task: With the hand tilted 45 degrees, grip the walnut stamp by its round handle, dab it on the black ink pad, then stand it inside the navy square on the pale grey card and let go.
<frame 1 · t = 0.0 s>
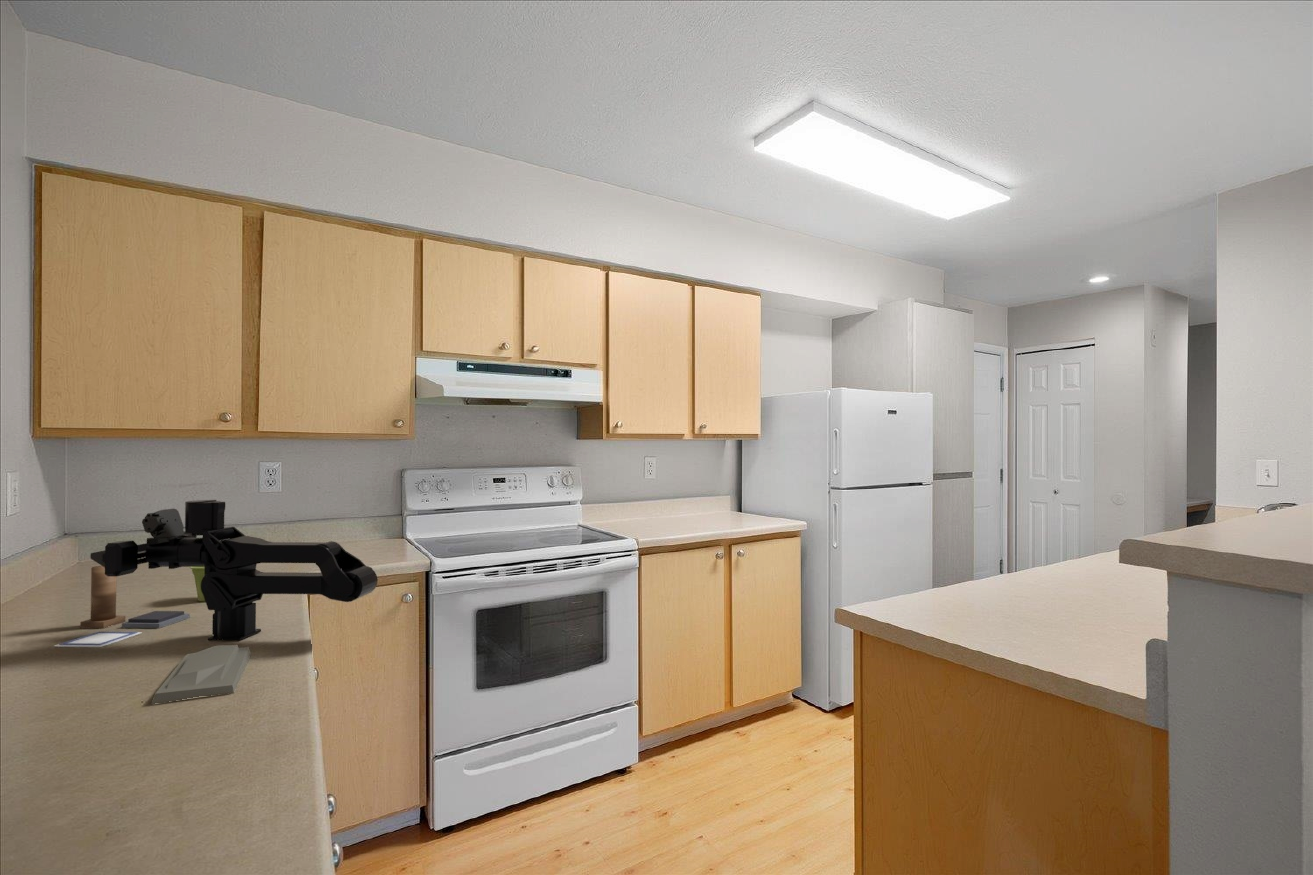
hand: (113, 551, 124), 17 cm above the countertop, tool horizontal, fingers open, 9 cm apart
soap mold: (207, 681, 100), on the countertop
print card: (99, 639, 120), on the countertop
plant pot: (213, 599, 153), on the countertop
ink pad: (156, 622, 132), on the countertop
stamp: (103, 624, 131), on the countertop
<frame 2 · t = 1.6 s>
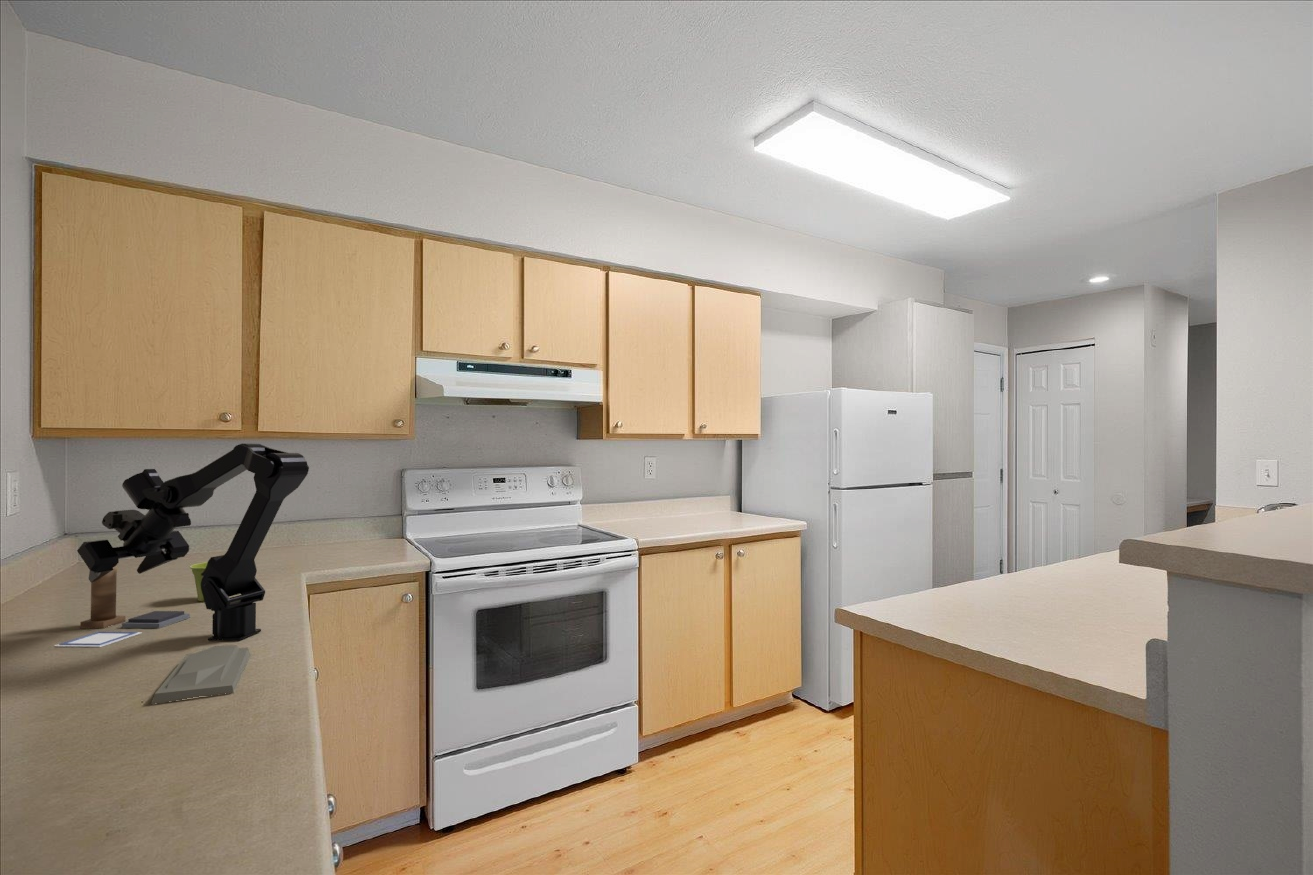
hand: (115, 576, 130), 10 cm above the countertop, tool tilted 45°, fingers open, 9 cm apart
nothing on the countertop moved.
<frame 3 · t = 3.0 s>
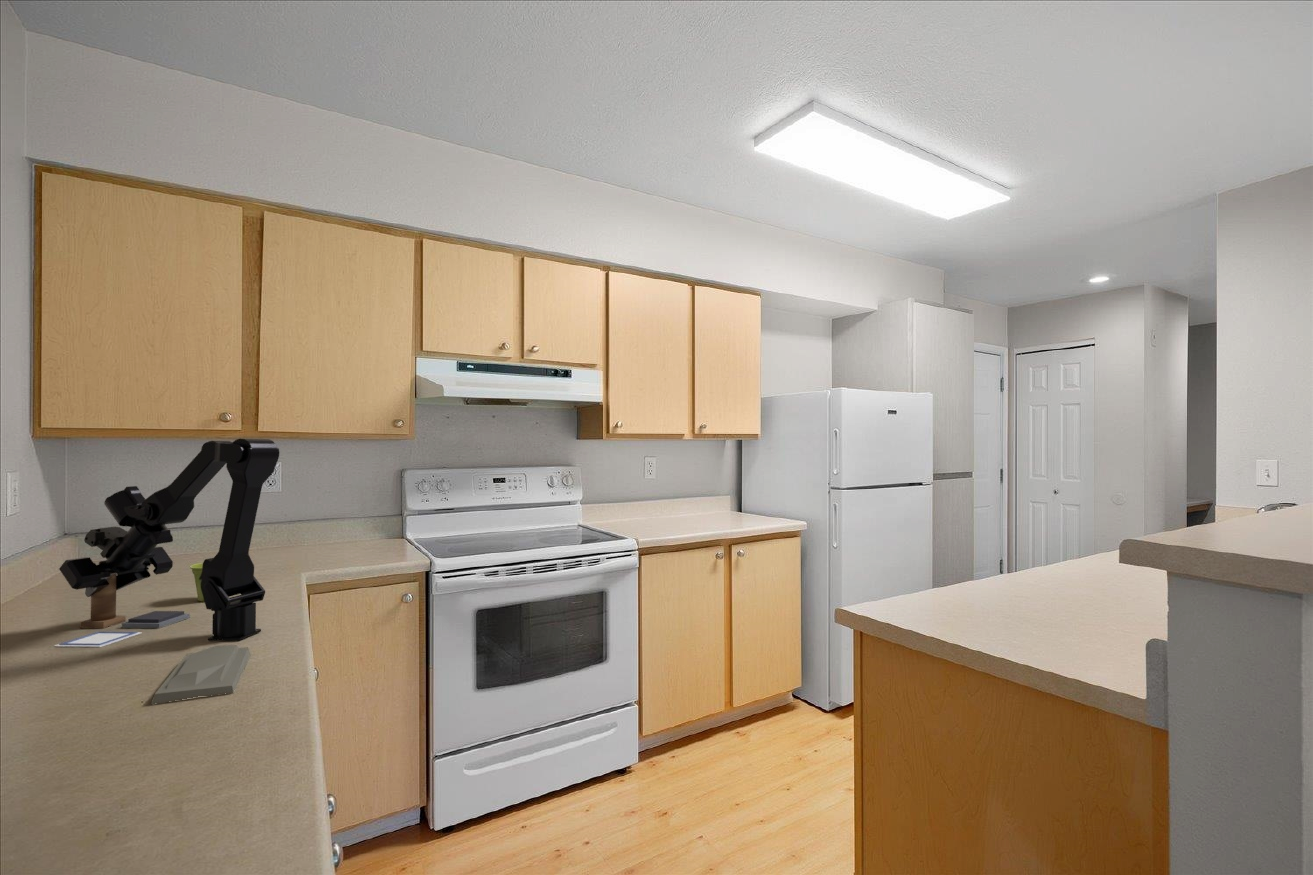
hand: (98, 592, 131), 7 cm above the countertop, tool tilted 45°, fingers closed on stamp, 4 cm apart
stamp: (103, 624, 131), on the countertop, touching gripper
everything else where it was.
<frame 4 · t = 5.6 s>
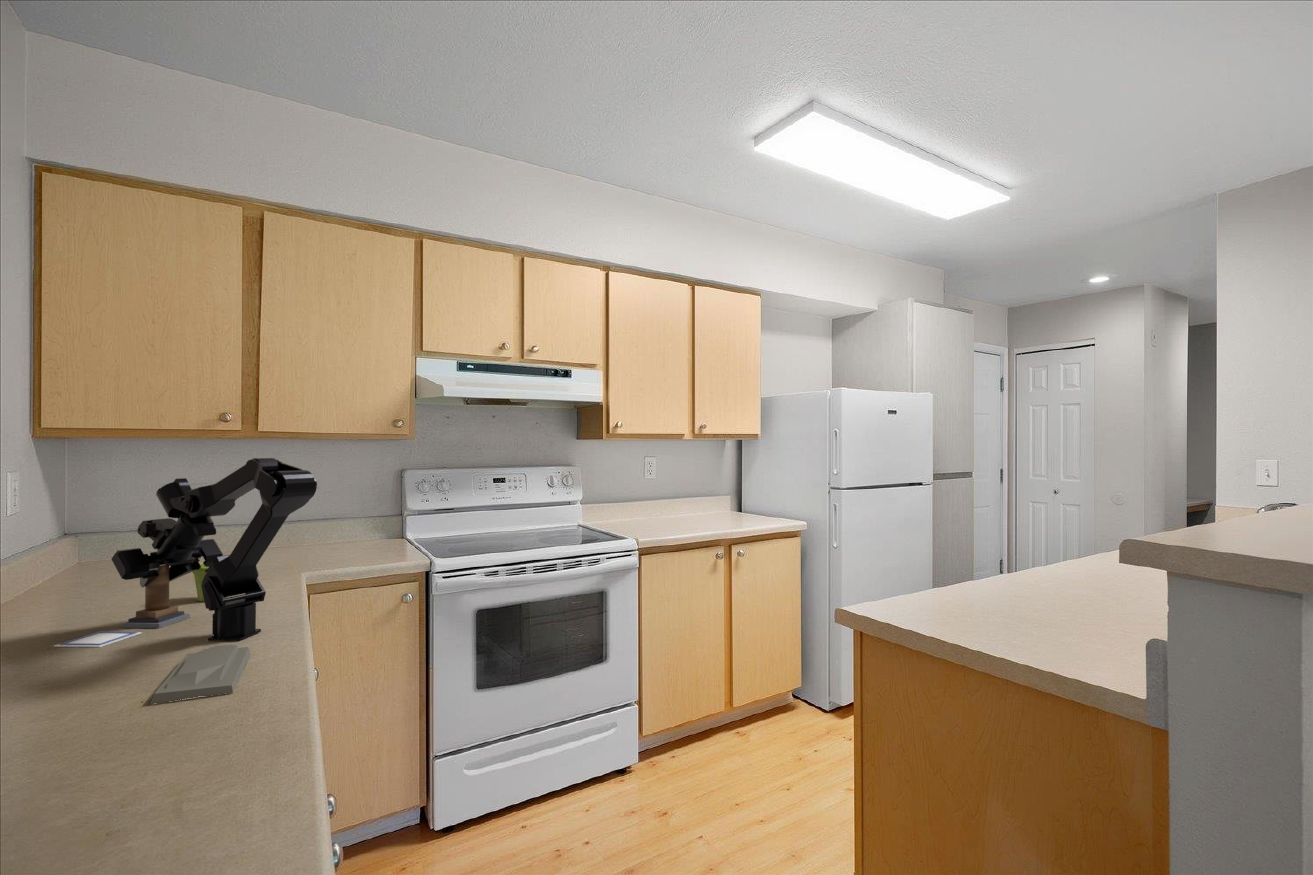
hand: (153, 583, 133), 8 cm above the countertop, tool tilted 45°, fingers closed on stamp, 4 cm apart
stamp: (157, 614, 132), point 2 cm above the countertop, touching gripper, ink pad
everything else where it was.
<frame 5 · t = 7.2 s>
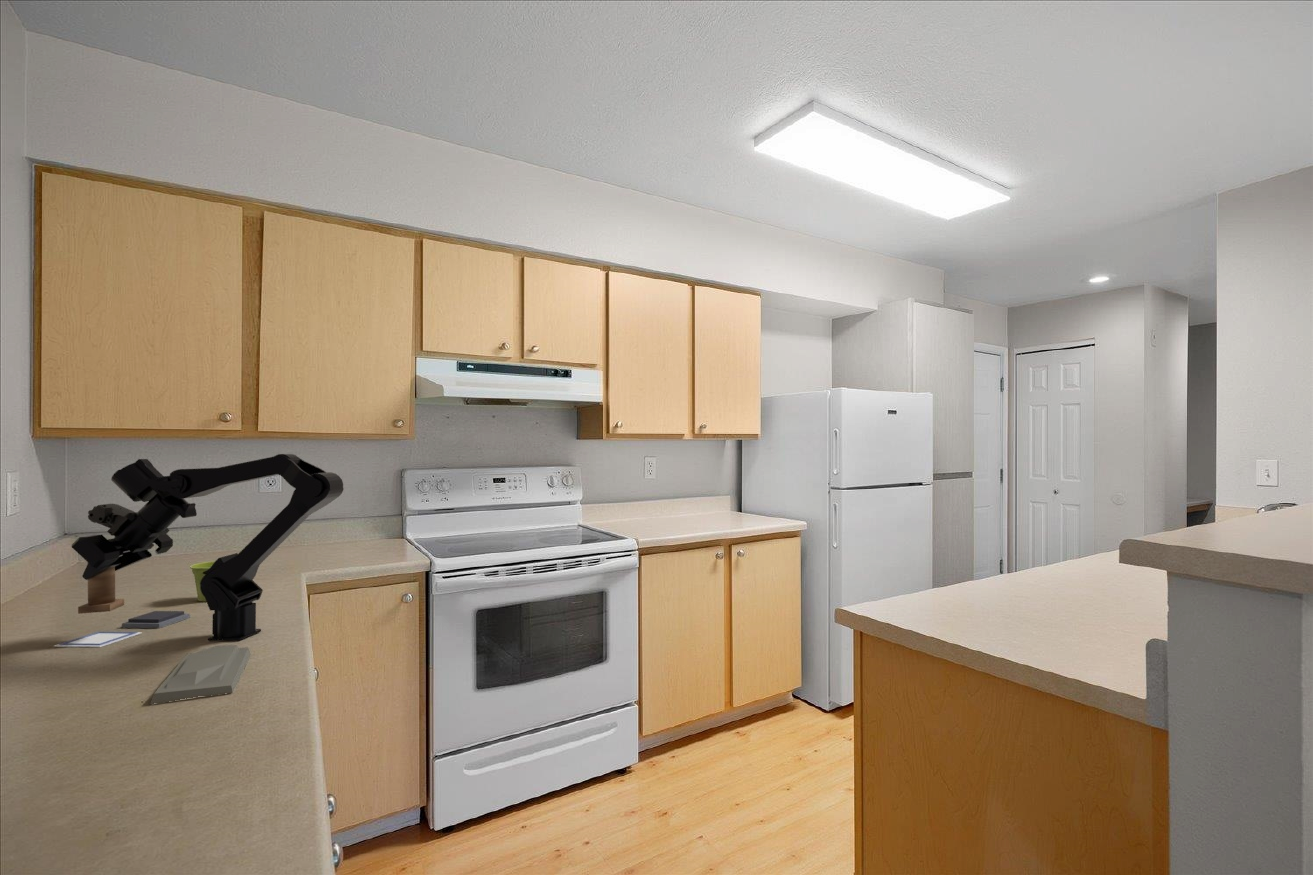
hand: (94, 575, 121), 12 cm above the countertop, tool tilted 45°, fingers closed on stamp, 4 cm apart
stamp: (101, 609, 121), point 6 cm above the countertop, touching gripper
everything else where it was.
when the fingers open (7 cm above the countertop, at t = 8.4 s): stamp stays where it is, resting on print card.
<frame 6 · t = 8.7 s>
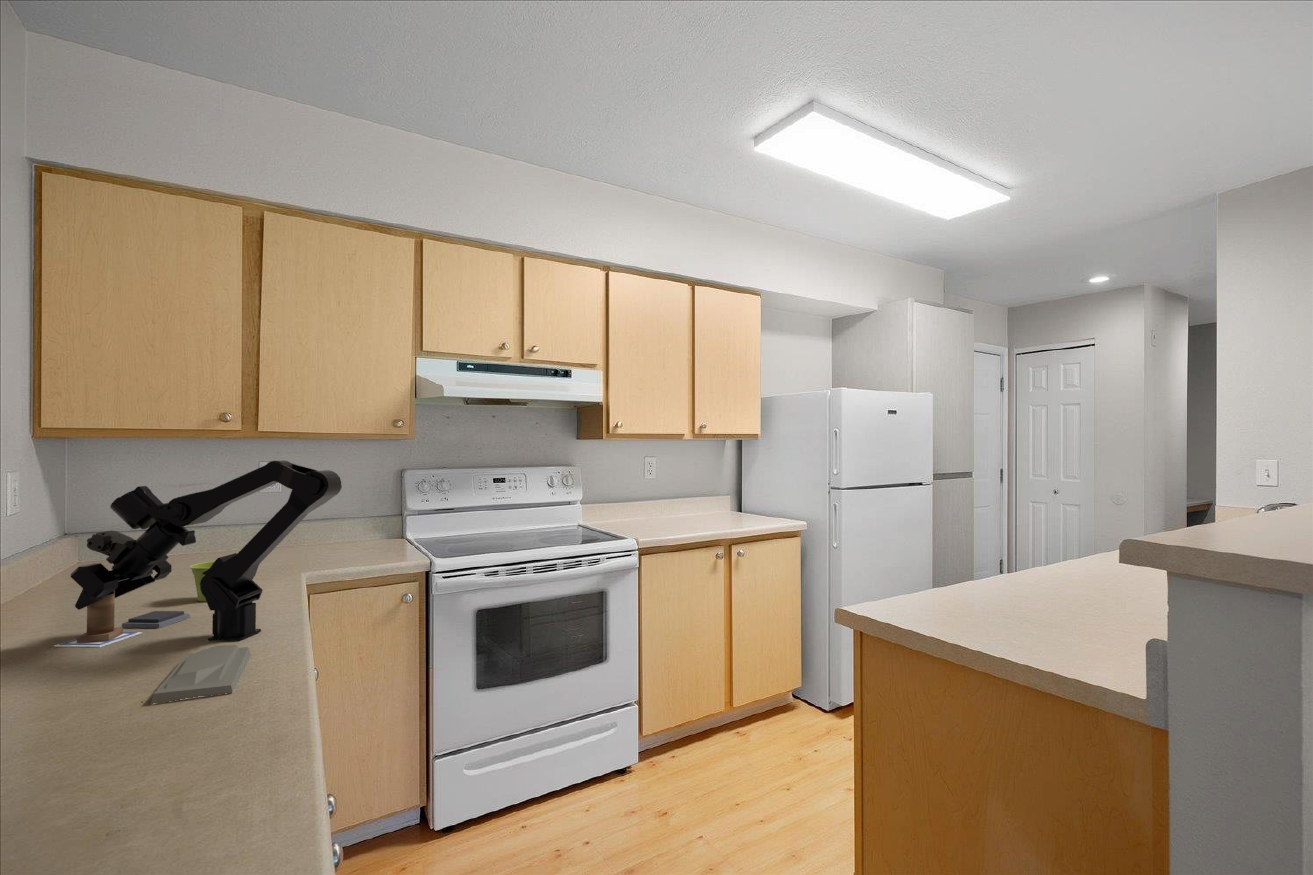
hand: (92, 603, 120), 7 cm above the countertop, tool tilted 45°, fingers open, 7 cm apart
stamp: (100, 638, 120), resting on print card
everything else where it was.
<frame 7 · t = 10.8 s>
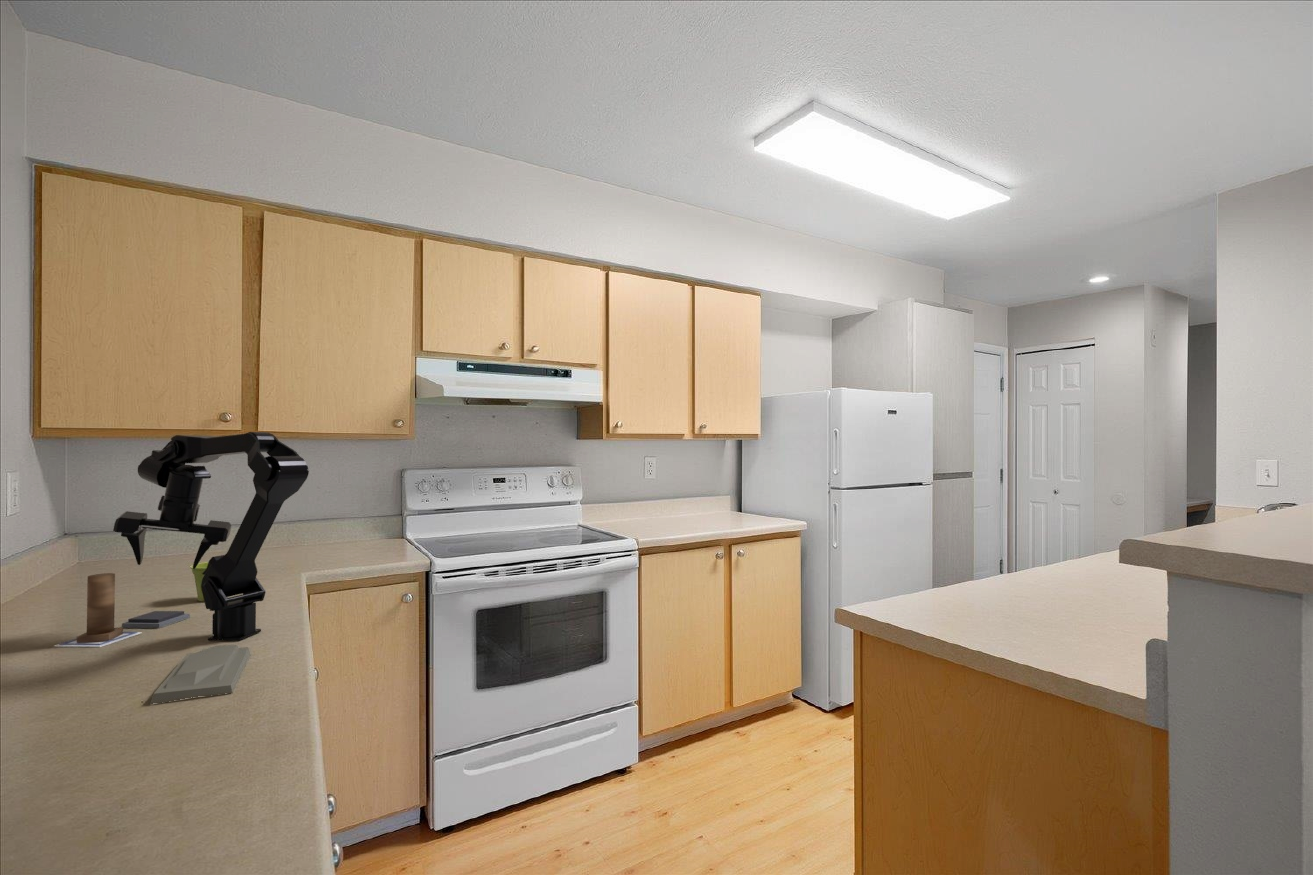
hand: (167, 566, 129), 13 cm above the countertop, tool tilted 15°, fingers open, 9 cm apart
nothing on the countertop moved.
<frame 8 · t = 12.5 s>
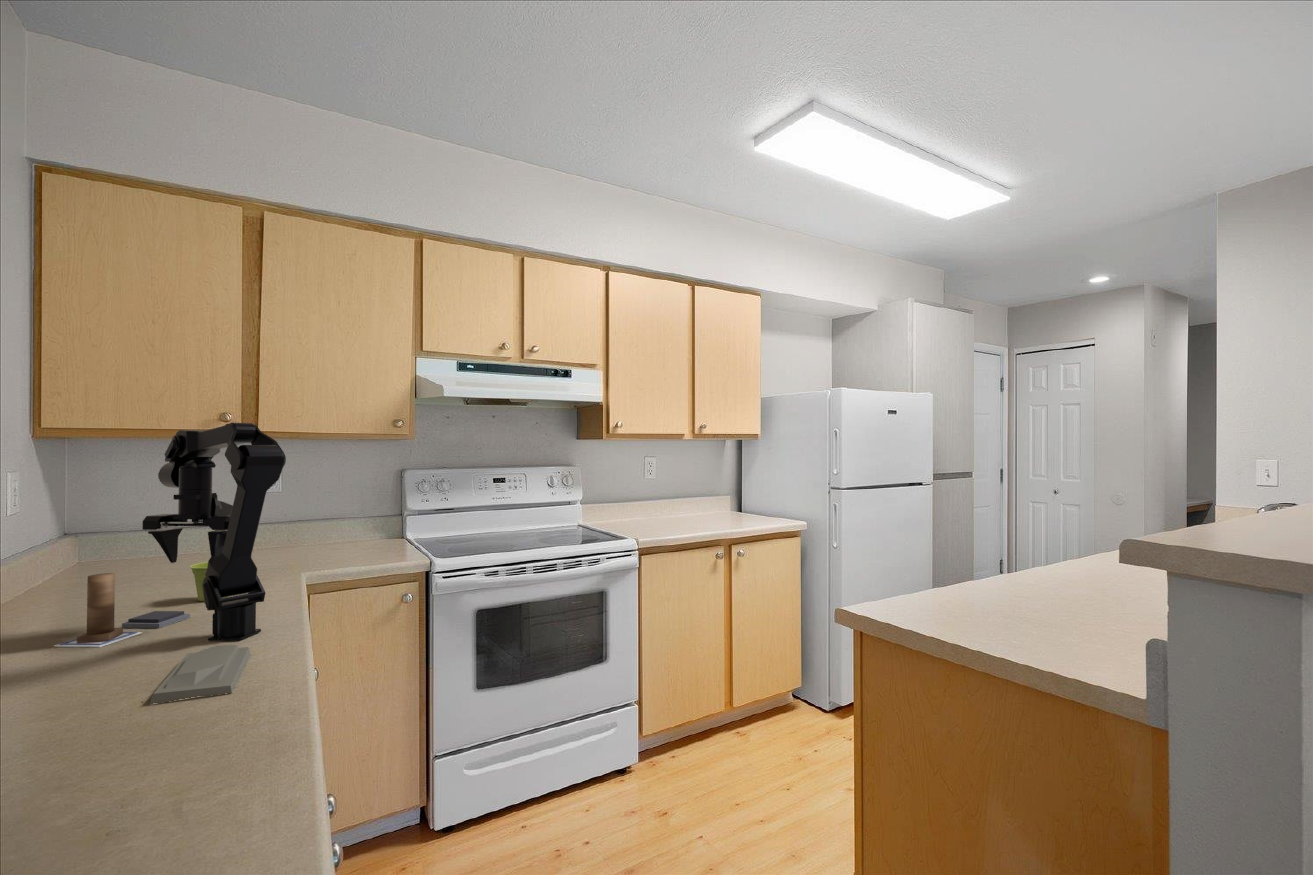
hand: (194, 562, 131), 13 cm above the countertop, tool pointing down, fingers open, 9 cm apart
nothing on the countertop moved.
at the end: stamp inside the target area on the print card (0.2 cm from its centre), point 0.2 cm above the print card's base; stamp tilted 0°; the gripper is holding nothing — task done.
